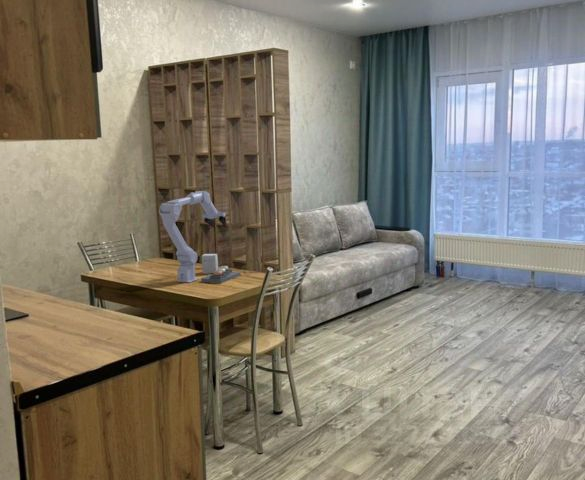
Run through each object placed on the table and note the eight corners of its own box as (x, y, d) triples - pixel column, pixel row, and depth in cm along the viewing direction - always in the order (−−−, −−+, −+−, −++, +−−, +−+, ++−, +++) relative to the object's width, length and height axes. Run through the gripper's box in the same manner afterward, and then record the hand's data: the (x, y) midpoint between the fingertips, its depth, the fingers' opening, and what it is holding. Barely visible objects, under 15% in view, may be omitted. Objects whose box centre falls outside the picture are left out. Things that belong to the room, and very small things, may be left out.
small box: (218, 271, 327) (217, 253, 326) (216, 273, 322) (215, 255, 320) (204, 271, 328) (204, 253, 327) (202, 273, 322) (201, 255, 321)
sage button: (225, 270, 310) (225, 267, 310) (218, 270, 312) (218, 267, 312) (229, 269, 314) (229, 266, 314) (222, 269, 316) (222, 265, 316)
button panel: (221, 283, 295) (220, 277, 295) (201, 281, 300) (200, 275, 299) (240, 275, 314) (240, 269, 314) (221, 274, 319) (221, 268, 318)
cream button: (222, 273, 304) (222, 269, 303) (215, 272, 305) (215, 269, 305) (226, 271, 308) (226, 268, 307) (219, 271, 309) (219, 267, 309)
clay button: (219, 275, 297) (219, 272, 297) (212, 275, 299) (212, 271, 298) (223, 274, 301) (223, 270, 301) (216, 273, 303) (216, 270, 302)
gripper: (222, 202, 316) (233, 220, 324) (201, 204, 322) (211, 221, 331) (218, 211, 311) (228, 228, 320) (196, 213, 317) (207, 230, 326)
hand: (219, 225), depth 325 cm, fingers open, 7 cm apart
